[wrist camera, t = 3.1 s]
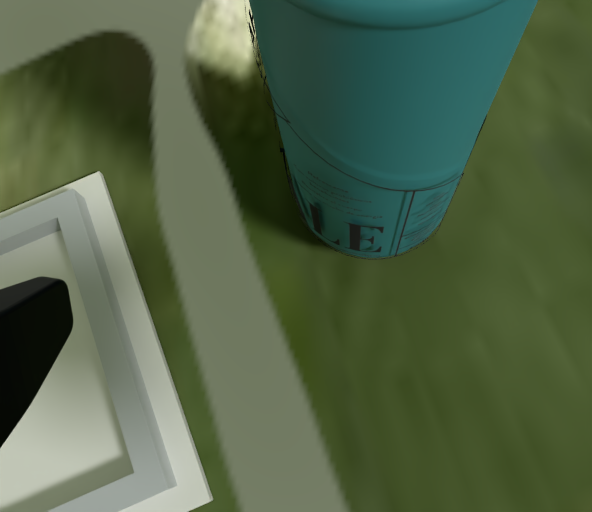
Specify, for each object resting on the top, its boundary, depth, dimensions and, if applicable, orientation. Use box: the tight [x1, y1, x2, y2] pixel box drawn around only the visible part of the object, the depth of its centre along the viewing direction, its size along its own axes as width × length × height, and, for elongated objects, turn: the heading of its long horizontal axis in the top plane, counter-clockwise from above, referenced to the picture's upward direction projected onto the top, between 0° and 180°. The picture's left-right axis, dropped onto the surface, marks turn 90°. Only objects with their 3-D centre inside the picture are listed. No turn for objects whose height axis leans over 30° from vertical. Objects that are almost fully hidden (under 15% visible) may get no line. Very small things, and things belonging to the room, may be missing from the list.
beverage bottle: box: [245, 0, 538, 259], centre depth 14 cm, size 6×7×20 cm
